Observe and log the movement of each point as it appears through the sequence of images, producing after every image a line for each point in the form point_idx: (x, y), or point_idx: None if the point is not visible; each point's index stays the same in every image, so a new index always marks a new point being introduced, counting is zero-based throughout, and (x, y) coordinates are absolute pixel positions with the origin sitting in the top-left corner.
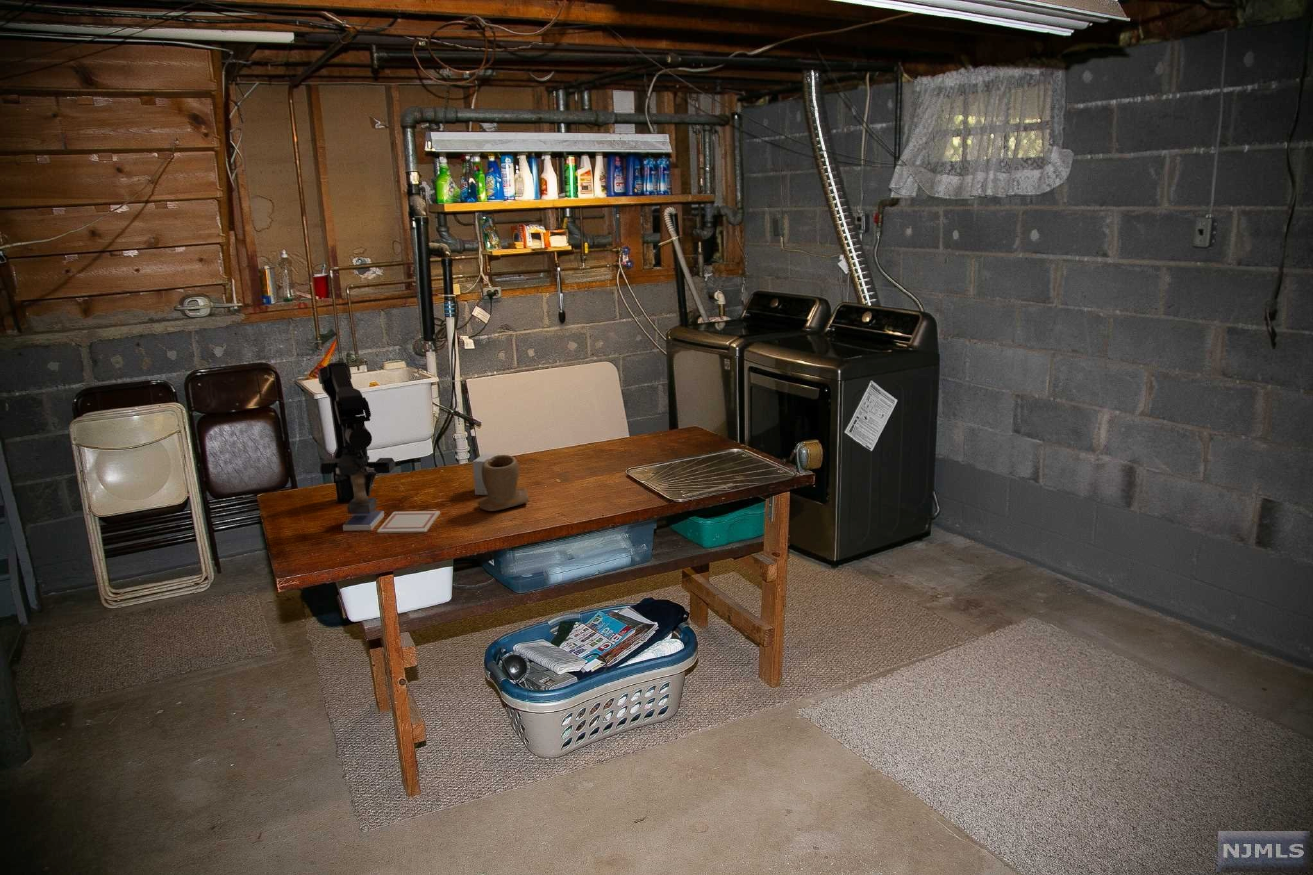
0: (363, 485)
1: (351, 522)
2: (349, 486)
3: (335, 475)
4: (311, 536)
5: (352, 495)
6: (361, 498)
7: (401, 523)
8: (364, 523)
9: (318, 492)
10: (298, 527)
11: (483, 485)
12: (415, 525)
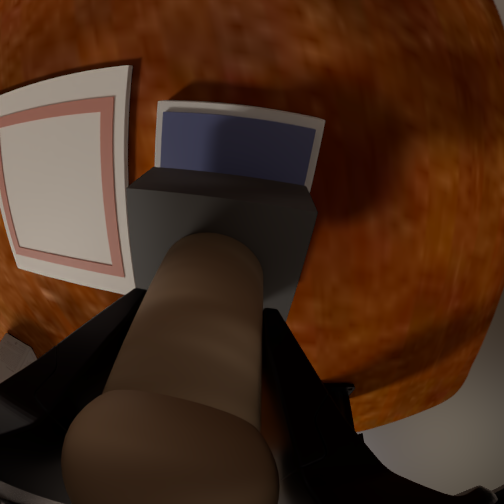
0: (114, 367)
1: (279, 147)
2: (298, 387)
3: (492, 493)
4: (445, 93)
5: (275, 312)
6: (182, 257)
7: (58, 163)
8: (195, 116)
9: (379, 415)
10: (478, 218)
11: (8, 354)
12: (17, 142)
